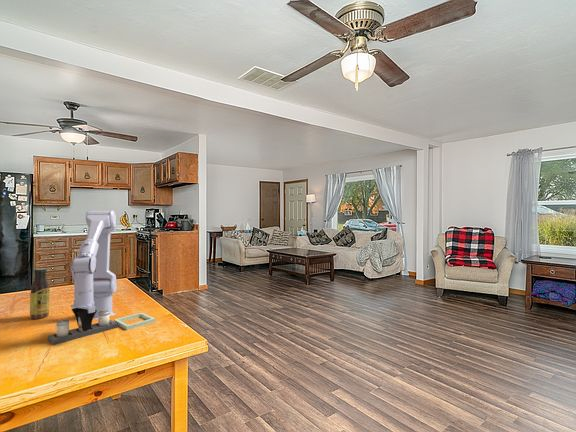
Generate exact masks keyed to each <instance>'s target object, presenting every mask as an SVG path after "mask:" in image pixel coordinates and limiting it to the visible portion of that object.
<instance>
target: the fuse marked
mask: <svg viewBox="0 0 576 432" xmlns="http://www.w3.org/2000/svg"><path fill="white" fill-rule="evenodd" d="M77 328H78V330H79V331H78V332H79V333H80V332H84V331H83V329H82V324H81V320H80V317H78V324H77ZM86 331H88V330H86Z"/></svg>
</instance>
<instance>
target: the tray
mask: <svg viewBox="0 0 576 432" xmlns="http://www.w3.org/2000/svg"><path fill="white" fill-rule="evenodd" d="M138 318H142V319H145V320H141V321H138V322H135V323H130V324H127V323H125V322H127V321H131V320H134V319H138ZM113 321H114V322H116V323H117V327H120V328H121V329H124V330H127V331H129V330H132V329H135V328H140V327H143V326H146V325H149V324H153V323H154V324H155V323H156V318H155V317H153V316H151V315H148V314H146V313H144V312H139V313H135V314H134V313H133V314H130V315H126V316H123V317H119V318H115V319H113Z"/></svg>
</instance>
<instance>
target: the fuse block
mask: <svg viewBox="0 0 576 432" xmlns="http://www.w3.org/2000/svg"><path fill="white" fill-rule="evenodd" d="M109 324H110V325H107V326H103V327H99V322H96V323H92V324H91V328H90V330H88V331H84V332H80V333H79V332H78V331H79V330H78V327H75V328H72V329H69V336H65V337H61V338H56V337H57V332H55V333H51V334H48V335H47V340H48V341H49V342H50V343H51V344H52V345H53V346H55V345H59V344H64V343H67V342H71V341H74V340H79V339H81V338H85V337H89V336H92V335H96V334H99V333H104V332H107V331H111V330H114V329H118V327H119V326H118V325H117V323H116V322H114V320H112V319H109Z"/></svg>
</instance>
